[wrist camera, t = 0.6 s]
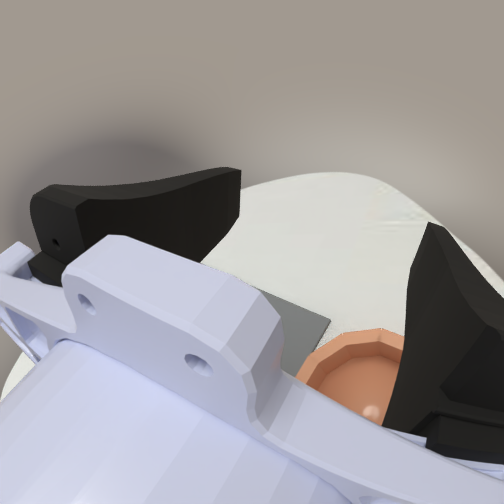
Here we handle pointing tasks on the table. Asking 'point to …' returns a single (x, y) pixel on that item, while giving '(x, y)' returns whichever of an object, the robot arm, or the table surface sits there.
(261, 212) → the table surface
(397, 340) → the bowl
